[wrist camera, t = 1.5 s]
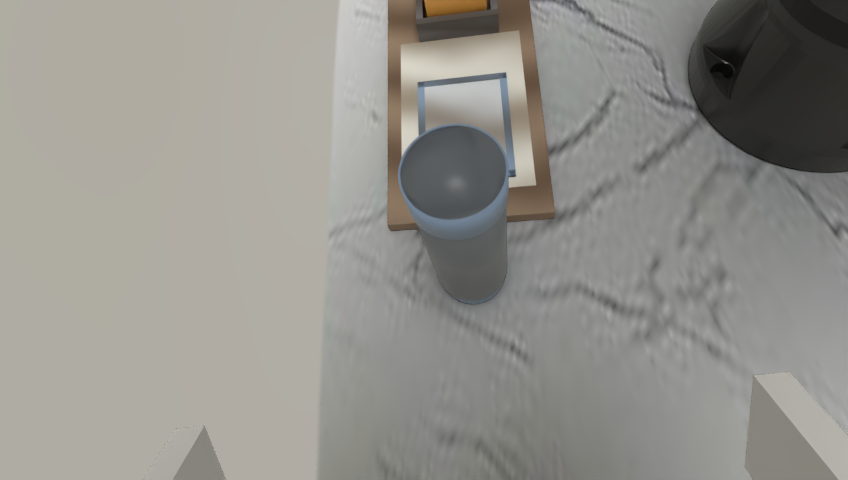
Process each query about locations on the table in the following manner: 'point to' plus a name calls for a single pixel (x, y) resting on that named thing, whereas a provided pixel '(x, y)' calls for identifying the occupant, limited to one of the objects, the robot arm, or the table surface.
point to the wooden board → (468, 94)
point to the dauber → (460, 207)
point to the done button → (453, 6)
